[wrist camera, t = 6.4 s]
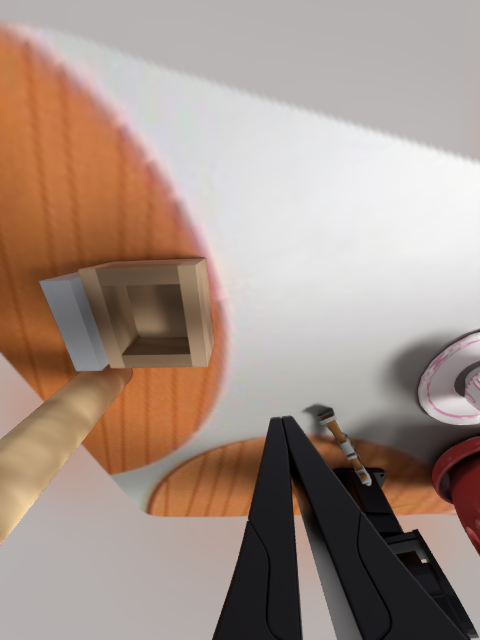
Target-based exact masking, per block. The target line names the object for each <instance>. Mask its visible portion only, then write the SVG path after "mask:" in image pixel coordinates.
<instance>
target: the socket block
mask: <svg viewBox="0 0 480 640" xmlns="http://www.w3.org/2000/svg"><path fill="white" fill-rule="evenodd" d="M78 272H79V275H80V278H81V281H82V284H83V287H84V290H85V293H86V296H87V299H88V302H89V305H90V308H91V311H92V314H93V317H94V319H95V322H96V325H97V328H98V331H99V334H100V337H101V340H102V343H103V346H104V349H105V352H106V355H107V358H108V361H109V364H110V367H111V368H164V367H208V363H209V360H210V357H211V353H212V350H213V346H214V343H215V341H214V331H213V321H212V311H211V301H210V291H209V281H208V271H207V261H206V258H192V259H166V260H140V261H114V262H109V263H104V264H100V265H95V266H91V267H87V268H82V269H78Z"/></svg>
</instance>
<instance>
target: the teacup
mask: <svg viewBox="0 0 480 640" xmlns="http://www.w3.org/2000/svg"><path fill="white" fill-rule="evenodd" d="M478 361H480V332H477V333H474V334H471V335H469V336H467V337H465V338H463V339H461V340H460V341H458V342H456V343H454V344H452V345H450V346H449V347H448V348H446V349H445V350H444V351H443V352H442V353H441V354H440V355H438V356H437V357H436V358H435V359H434V360H433V361H432V362H431V363H430V365H429V366H428V368H427V369H426V371H425V372H424V374H423V375H422V377H421V381H420V384H419V388H418V396H419V403H420V405H421V406H422V407H423V409H424V410H425V411H426V413H427V414H428V415H429V416H431V417H433V418H435V419H436V420H438V421H440V422H443V423H448V424H453V425H474V424H479V423H480V367H477V368H475V369H474V370H472V371H471V372H470V373H469V374H468V375H467V377H466V379H465V386H466V389H465V397H464V396H461V395H460V394H458V393H457V392H456V390H455V386H454V383H455V380H456V378H457V376H458V375H459V374H460V373H461V371H463V370H464V369H465V368H466V367H468V366H469V365H471V364H473V363H475V362H478Z"/></svg>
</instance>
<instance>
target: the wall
mask: <svg viewBox="0 0 480 640" xmlns="http://www.w3.org/2000/svg"><path fill="white" fill-rule="evenodd" d="M39 283H40V285H41V288H42V290H43V292H44V295H45V297H46V300H47V302H48V304H49V307H50V309H51V312H52V314H53V316H54V319H55V321H56V324H57V326H58V328H59V331H60V333H61V336H62V338H63V340H64V343H65V345H66V348H67V350H68V352H69V355H70V357H71V360H72V362H73V364H74V367H75V369H76V371H102V370H103V369H104V368H105V367H106V366H107V365H108V364H109V361H108V358H107V355H106V352H105V349H104V346H103V343H102V340H101V337H100V334H99V331H98V328H97V325H96V322H95V319H94V317H93V314H92V311H91V308H90V305H89V302H88V299H87V296H86V293H85V290H84V287H83V284H82V281H81V278H80V275H79V272H75V273H71V274H67V275H62V276H58V277H54V278H50V279H46V280H42V281H39Z"/></svg>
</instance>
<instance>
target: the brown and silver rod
mask: <svg viewBox="0 0 480 640" xmlns="http://www.w3.org/2000/svg"><path fill="white" fill-rule="evenodd" d="M318 419H319V423H321V425H323V424H325V425H326V426H327V427H328V428H329V430H330V431H331V432H332V433H333V435H334V436H335V437H336V439H337V440H338V443H339V445H340V447H341V448H342V450H343V451H344V453H345V455H346V457H347V458H348V460H350V461H351V463H352V464H353V466H354V469H355V472H356V473H357V475H358V476H359V478H360V480H361V481H362V484H366V485H368V486H370V485H371V478H370V476H369V474H368V473H367V471H366V470H365V468H364V466H363V464H362V463H361V461H362V460H361V458H360V456H359V454H358V452H357V451H356V449H354V448H353V447H354V445H353V442H352V441H350V440H349V438H348V436H347V435H345V434H344V433H342V432H341V430H340V428H339V427H338V425H337V423H336V421H335V419H336V416H335V413H334V411H333V409H332V410H331V411H329V412H327V413H324V414H322V415H320V416H319V415H318Z"/></svg>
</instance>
